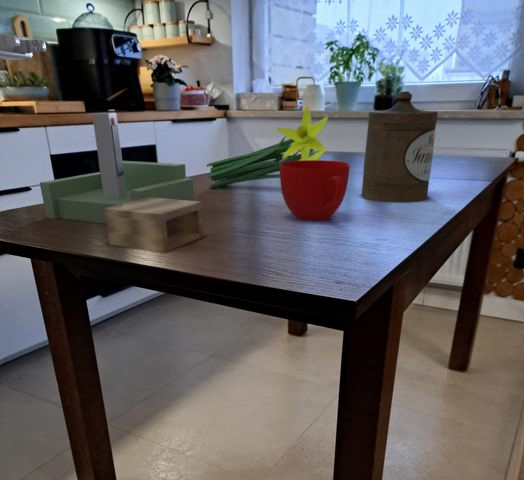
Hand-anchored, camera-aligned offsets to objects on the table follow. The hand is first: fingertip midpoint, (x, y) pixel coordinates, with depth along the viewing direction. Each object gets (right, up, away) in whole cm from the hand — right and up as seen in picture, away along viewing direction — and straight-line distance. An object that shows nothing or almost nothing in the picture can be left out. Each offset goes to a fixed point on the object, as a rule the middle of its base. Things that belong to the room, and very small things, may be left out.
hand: (31, 43), depth 88 cm
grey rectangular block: (+11, -22, +14) cm, 28 cm away
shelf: (+22, -34, -2) cm, 41 cm away
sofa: (+11, -25, +16) cm, 32 cm away
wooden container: (+70, -17, +32) cm, 79 cm away
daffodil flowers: (+40, -13, +42) cm, 59 cm away
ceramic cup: (+50, -28, +11) cm, 58 cm away
